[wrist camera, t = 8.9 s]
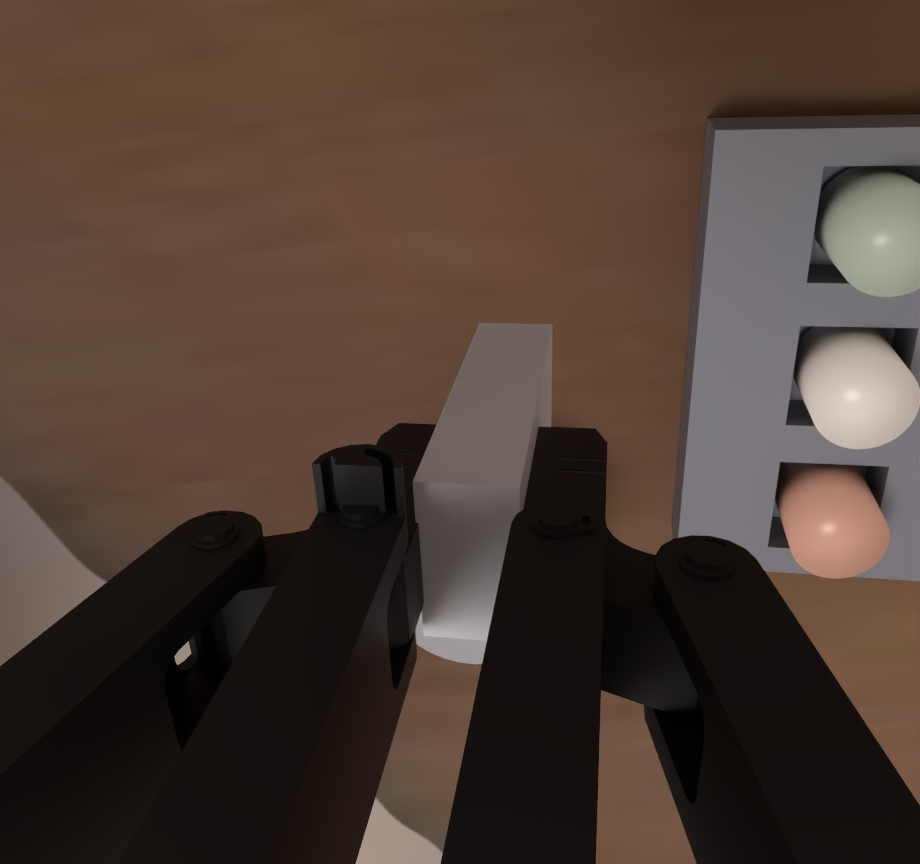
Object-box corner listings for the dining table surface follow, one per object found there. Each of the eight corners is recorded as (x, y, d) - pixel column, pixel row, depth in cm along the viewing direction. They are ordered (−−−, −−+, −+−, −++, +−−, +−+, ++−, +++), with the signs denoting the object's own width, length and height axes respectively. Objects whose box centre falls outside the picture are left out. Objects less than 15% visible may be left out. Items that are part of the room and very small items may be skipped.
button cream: (797, 316, 41) (818, 355, 37) (896, 318, 40) (930, 358, 36) (785, 400, 43) (804, 447, 39) (879, 403, 42) (909, 451, 38)
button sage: (819, 164, 38) (846, 186, 33) (927, 163, 37) (968, 186, 33) (805, 262, 40) (828, 296, 35) (907, 263, 39) (943, 297, 35)
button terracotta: (778, 446, 44) (796, 497, 40) (869, 450, 43) (898, 502, 39) (767, 519, 46) (783, 575, 42) (855, 524, 45) (880, 581, 41)
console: (706, 117, 39) (715, 130, 36) (1041, 111, 37) (1086, 124, 34) (671, 524, 49) (675, 565, 46) (934, 539, 47) (960, 583, 44)
